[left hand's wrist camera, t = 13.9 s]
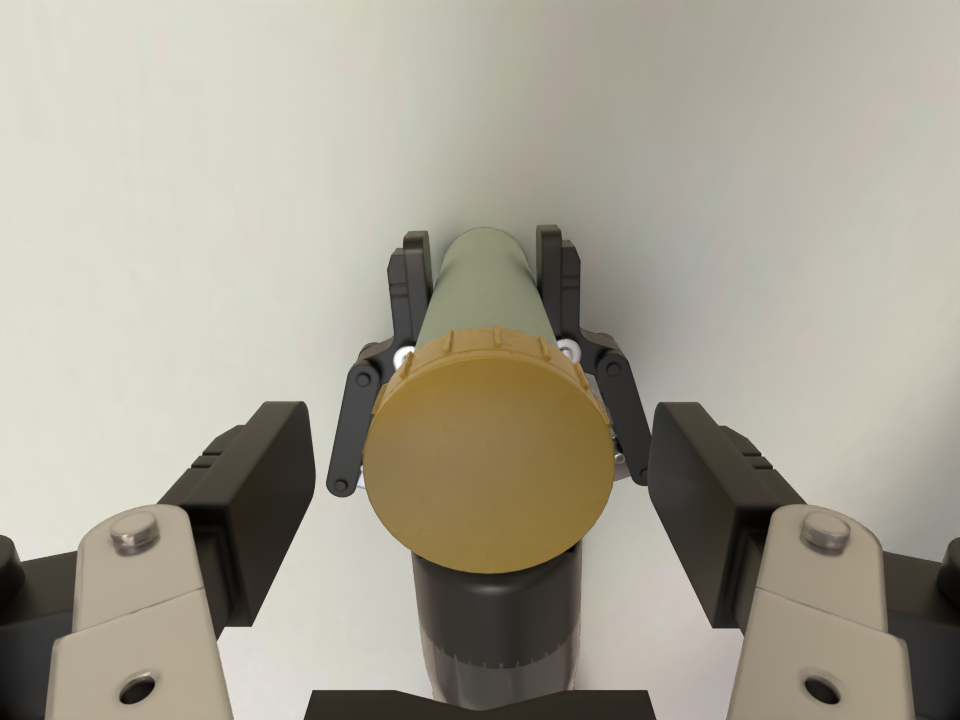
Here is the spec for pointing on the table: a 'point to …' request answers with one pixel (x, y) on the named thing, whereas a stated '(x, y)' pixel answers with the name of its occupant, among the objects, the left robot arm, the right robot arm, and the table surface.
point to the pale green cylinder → (485, 289)
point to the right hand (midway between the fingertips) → (481, 233)
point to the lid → (488, 452)
